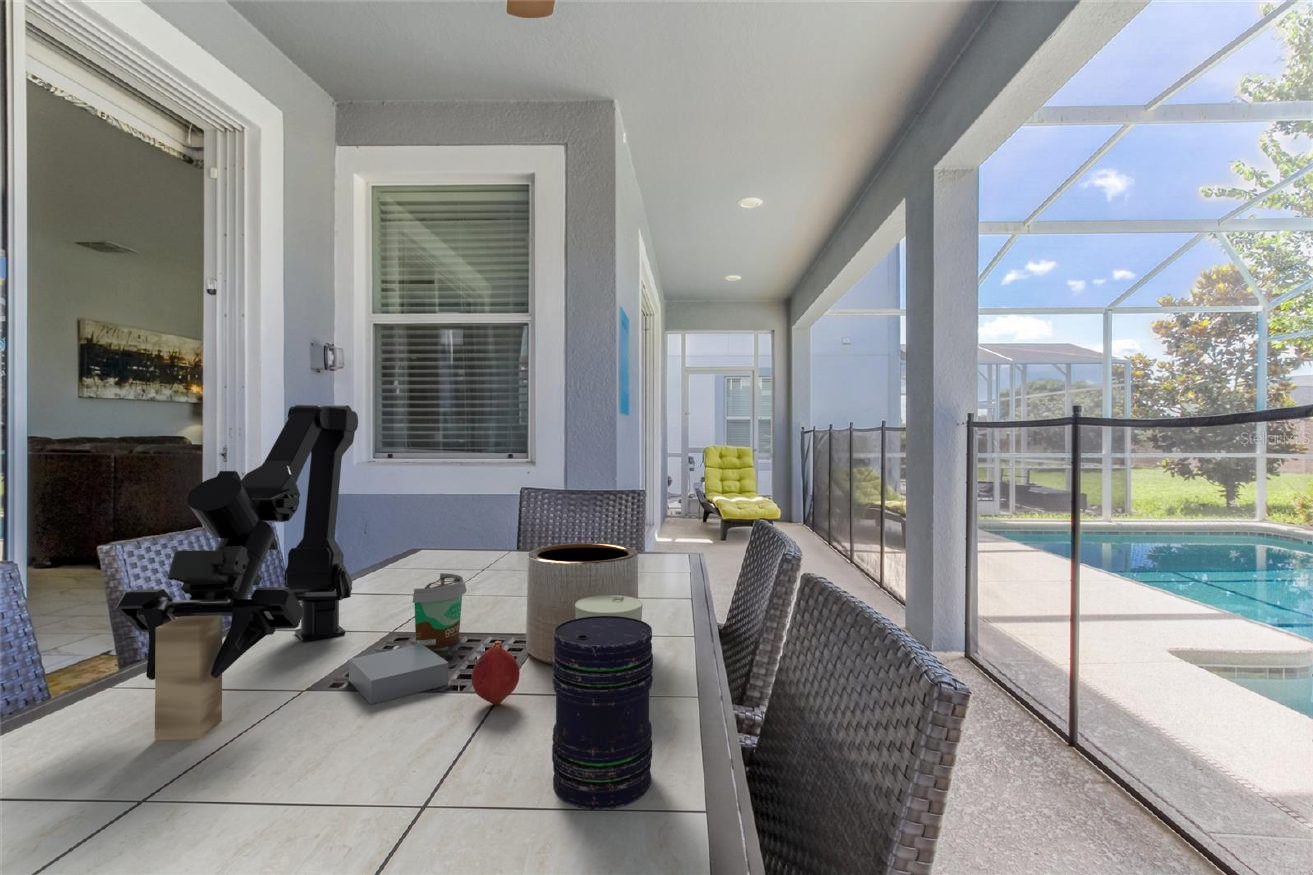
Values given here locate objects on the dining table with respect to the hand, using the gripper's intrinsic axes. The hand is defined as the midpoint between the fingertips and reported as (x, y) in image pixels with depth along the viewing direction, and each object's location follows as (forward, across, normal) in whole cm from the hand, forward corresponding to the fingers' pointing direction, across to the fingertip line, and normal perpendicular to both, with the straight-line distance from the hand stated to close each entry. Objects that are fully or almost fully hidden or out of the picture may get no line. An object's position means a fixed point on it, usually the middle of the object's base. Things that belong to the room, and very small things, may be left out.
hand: (181, 677), depth 71 cm
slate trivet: (-5, +20, +14) cm, 25 cm away
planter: (-13, +45, +22) cm, 51 cm away
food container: (-17, +22, +27) cm, 39 cm away
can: (-2, +48, +11) cm, 50 cm away
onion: (+1, +34, +8) cm, 35 cm away
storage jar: (+14, +47, -5) cm, 49 cm away
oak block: (+4, 0, +6) cm, 7 cm away
